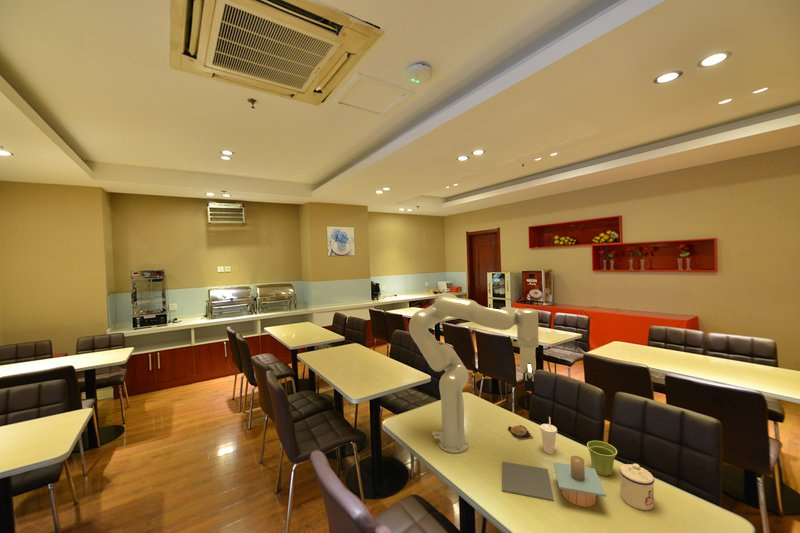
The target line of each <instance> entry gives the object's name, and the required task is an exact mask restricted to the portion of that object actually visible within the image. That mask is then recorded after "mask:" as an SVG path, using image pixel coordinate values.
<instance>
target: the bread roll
mask: <svg viewBox="0 0 800 533" xmlns="http://www.w3.org/2000/svg"><path fill="white" fill-rule="evenodd" d="M507 427H508V428H507V431H508V432H509V433H510V434H511V435H512V436H513V438H516V440H518V441H519V442H520V441H527V440H532V439H534V436H533V435H532V433H530V431H529V430H528V429H527V427H525V426H524V425H523V424H521V425H514V426H510V425H509V426H507Z"/></svg>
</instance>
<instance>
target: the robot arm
mask: <svg viewBox="0 0 800 533" xmlns="http://www.w3.org/2000/svg"><path fill="white" fill-rule="evenodd" d="M447 317H449V318H455V319H460V320H463V321H469V322H471V323H473V324H476V325H479V326H481V327H485V328H489V329H494V330H500V331H507V330H510V329H512V328H513V327H514V326H516V330H517V332H516V333H517V334H516V337H517V338H516V339H517V344H516V345H517V346H518V347H519V368H520V373H521V374H522V377H523V378H522V379H523V382H524V391H525V392H531V393H533V392H535V380H534V375H535V374H536V348H539V346H540V345H539V341H540V340H539V339H540V338H539V313H538V311H537V310H536V309H534V308H518V307H517V308H516V307H512V306H504V307H501V308H500V309H496V308H491V307H486V306H483V305H481V304H478V302H476V301H475V300H472V299H468V298H463V297H461V298H460V297H458V296H456V295H455V294H452V293H446V294H443V295H439V296H438V297H436V299H435V301H434V303H433V304H431V305H430V306H428V307H425V308H424V309H420V310H418V311H416V312H415V313H414V314H412V316H411V318H410V320H409V323H408V331H409V332H408V333H409V334H410V336H411V338H412V340H413V341H414V343H415V344H416V346H417V347H418V349H419V350H420V353H421V354H422V356H423V357H424V359H425V361H426V362H427V364H428V365H429V367H430V369H432V371H434V372H437V373H438V372H439V373H440V372H442V371H445V372H444V373H443V374H442V376H441V377H440V380H439V384H438V387H439V388H438V389H439V394H440V404H441V406H440V407H441V431H434V430H433V431H432V433H431V434H432V437H433V439H434V440H438V447H439V448H440V449H441V450H442V451H445V452H447V453H451V454H460V453H463V452H466V451H467V450H468V448H469V440H468V439H467V438H465V437H466V436H465V402H464V397H463V396H464V395H463V390H464V388H465V386H466V385H467V383H468V381H469V378H470V374H469V372H468V369H467V367H466V366H465V365H464V363H463V361H462V360H461V358H460V357H459V356H458V354H457V353H456V350H454V348H453V347H451V346H450V345H448V344H445V343H444V344H440V343H439V342H438V341H437V339H436V337H435V336H434V335H433V334H432V332H430V331H429V329H430V328H431V327H433V326H435V325H437V324H438V323H440V322H441V321H443V320H444V319H446V318H447Z"/></svg>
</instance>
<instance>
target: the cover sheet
mask: <svg viewBox="0 0 800 533" xmlns="http://www.w3.org/2000/svg"><path fill="white" fill-rule="evenodd" d="M553 467H554V468H553V469H554V472H555V475H556V476H555V477H556V480H557V481H556V482H557V485H558V488H559V489H560V490H561V489H564V490H570V491H576V492H581V493H587V494H593V495H596V496H598V497H599V496H600V497H605V498H606V497H607V494H606V491H605V489H604V486H603V485H602V483H601V480H600V477H599V474H598V473H596V470H595V468H592V467H589V466H585V459H584V458H583V457H581V456H579V455H572V456H570V464H568V463H562V462H555V461H553Z"/></svg>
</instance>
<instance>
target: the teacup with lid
mask: <svg viewBox="0 0 800 533" xmlns="http://www.w3.org/2000/svg"><path fill="white" fill-rule="evenodd" d="M619 476H620V477H619V479H620V485H619V486H620V487H619V488H620V498H621V499H622V500H623V502H625V503H626V504H627V505H629V506H631V507H632V508H634V509H638V510H642V511H651V510H652V509H653V508H654V504H655V501H654V499H655V498H654V497H655V496H654V483H655V478H654V476H653V475H652V473H651V472H649V470H647V469H645V468H644V467H641V465H639V464H638V463H631V464H629V463H626V464H622V465H621V466H620V467H619Z"/></svg>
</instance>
